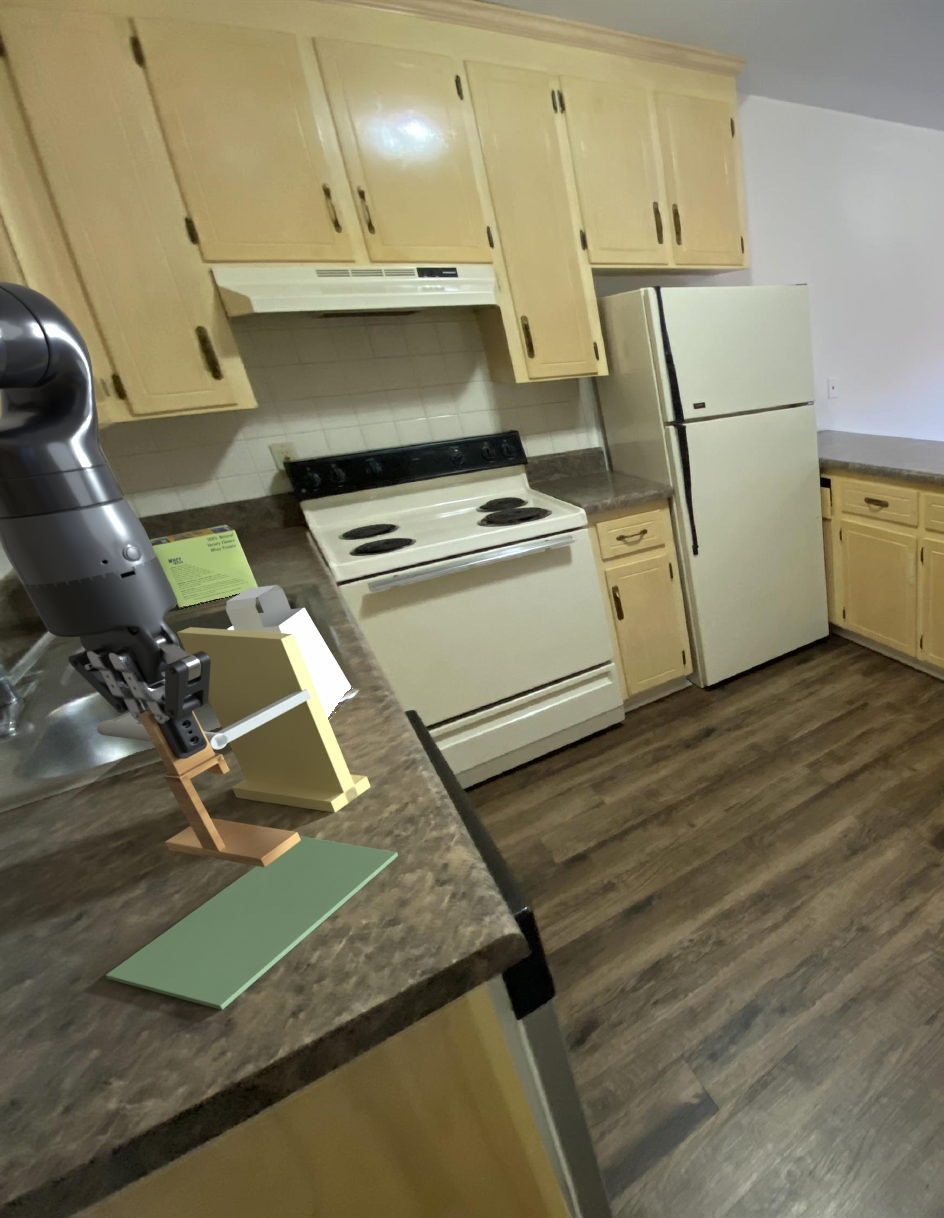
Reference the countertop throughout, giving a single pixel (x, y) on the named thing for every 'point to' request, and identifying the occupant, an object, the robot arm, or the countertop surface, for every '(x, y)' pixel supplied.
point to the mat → (252, 923)
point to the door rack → (266, 720)
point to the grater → (300, 624)
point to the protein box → (204, 564)
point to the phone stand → (204, 831)
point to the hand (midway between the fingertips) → (185, 751)
